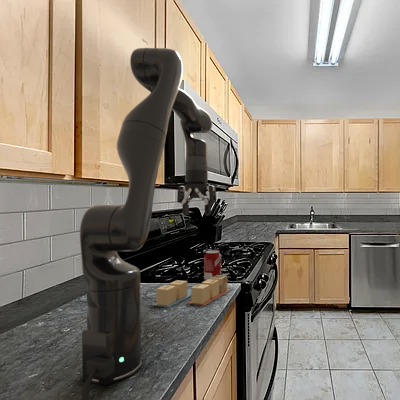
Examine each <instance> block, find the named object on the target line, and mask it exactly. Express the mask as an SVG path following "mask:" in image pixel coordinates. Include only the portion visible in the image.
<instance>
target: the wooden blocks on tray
mask: <svg viewBox="0 0 400 400" xmlns="http://www.w3.org/2000/svg"><path fill="white" fill-rule="evenodd" d="M190 289H191V296H190V299H191V300H190V301H189V302H188V304H192V305H201V306H206V305H208V304H209V303H210V302H212V301H214V300H215V299H217V298H219V297H220V296H222V295H224V294H226V292H229V291H230V290H231V288H227V290H225V291H223V292H219V280H211V279H208V280H206V281H205V280H204V281H202V282H201V283H198V284H195V285H194V286H192V287H190Z"/></svg>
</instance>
